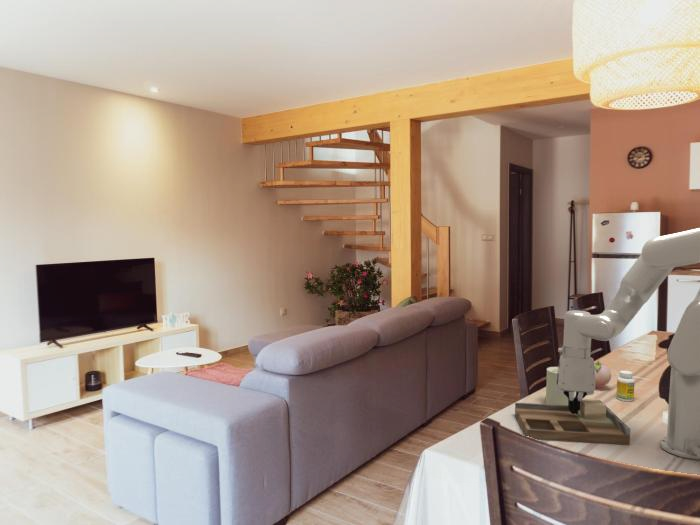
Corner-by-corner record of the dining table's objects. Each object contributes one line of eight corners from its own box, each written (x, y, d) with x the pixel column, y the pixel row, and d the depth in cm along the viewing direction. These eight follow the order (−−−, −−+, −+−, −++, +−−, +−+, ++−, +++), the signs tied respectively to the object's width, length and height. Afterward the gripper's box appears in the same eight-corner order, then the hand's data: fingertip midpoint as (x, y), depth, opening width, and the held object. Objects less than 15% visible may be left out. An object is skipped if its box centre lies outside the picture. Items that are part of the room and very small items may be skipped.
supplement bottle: (621, 395, 190) (623, 369, 189) (636, 400, 185) (638, 372, 184) (613, 398, 187) (614, 371, 186) (628, 402, 182) (629, 375, 182)
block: (605, 420, 158) (606, 405, 158) (584, 419, 158) (585, 404, 158) (598, 413, 164) (599, 399, 164) (577, 412, 164) (578, 398, 164)
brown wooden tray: (629, 444, 146) (630, 428, 146) (527, 438, 150) (527, 423, 149) (605, 420, 165) (605, 405, 165) (514, 415, 169) (515, 401, 168)
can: (539, 401, 182) (540, 366, 182) (560, 398, 186) (562, 364, 185) (558, 410, 174) (560, 373, 173) (580, 407, 177) (582, 371, 176)
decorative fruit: (612, 393, 193) (614, 365, 192) (588, 390, 195) (589, 363, 194) (607, 385, 202) (609, 359, 201) (584, 383, 204) (585, 357, 203)
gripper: (553, 354, 157) (551, 415, 158) (607, 356, 155) (604, 418, 156) (547, 348, 164) (544, 407, 166) (598, 350, 163) (595, 409, 164)
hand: (573, 412), depth 161 cm, fingers closed
